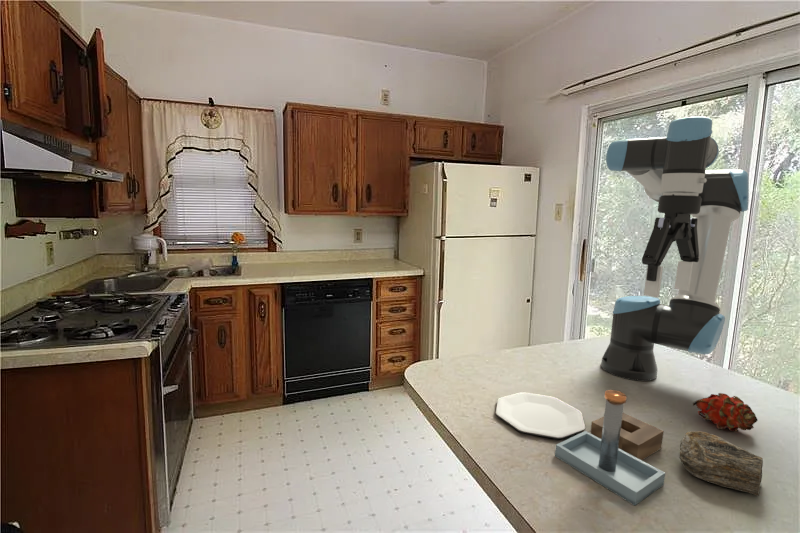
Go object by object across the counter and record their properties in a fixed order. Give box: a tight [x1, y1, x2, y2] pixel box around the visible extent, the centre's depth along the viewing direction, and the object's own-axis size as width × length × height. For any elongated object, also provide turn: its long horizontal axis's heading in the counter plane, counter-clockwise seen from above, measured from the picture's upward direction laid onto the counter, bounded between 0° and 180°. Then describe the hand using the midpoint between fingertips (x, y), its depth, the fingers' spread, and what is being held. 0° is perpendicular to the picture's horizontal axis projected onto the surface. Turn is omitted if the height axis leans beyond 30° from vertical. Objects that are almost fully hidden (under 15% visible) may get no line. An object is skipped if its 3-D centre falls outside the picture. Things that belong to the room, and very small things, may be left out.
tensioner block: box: [589, 412, 665, 461], centre depth 89 cm, size 10×10×4 cm
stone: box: [679, 430, 764, 496], centre depth 79 cm, size 14×10×10 cm
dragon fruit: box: [692, 392, 758, 432], centre depth 97 cm, size 8×8×12 cm
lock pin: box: [599, 389, 627, 472], centre depth 79 cm, size 4×4×15 cm
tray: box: [554, 430, 666, 506], centre depth 80 cm, size 16×10×2 cm, turn 33°
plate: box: [495, 391, 586, 440], centre depth 99 cm, size 20×20×2 cm
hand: (667, 292), depth 91 cm, fingers open, 13 cm apart
